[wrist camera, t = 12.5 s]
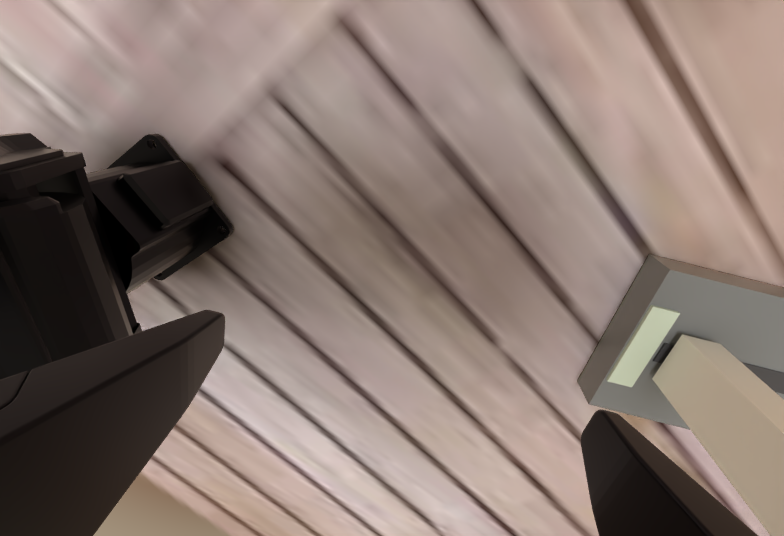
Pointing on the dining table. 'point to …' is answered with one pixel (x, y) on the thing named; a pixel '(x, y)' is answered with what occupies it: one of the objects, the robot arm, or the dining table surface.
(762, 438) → the lever
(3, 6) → the dining table surface
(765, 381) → the switch plate
